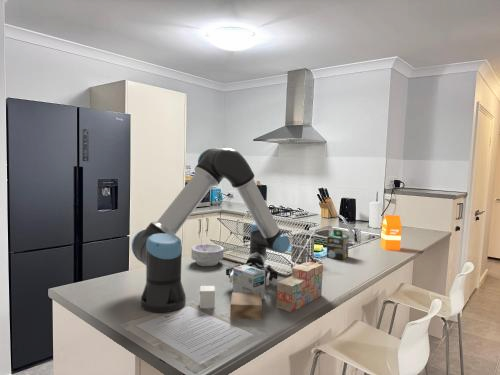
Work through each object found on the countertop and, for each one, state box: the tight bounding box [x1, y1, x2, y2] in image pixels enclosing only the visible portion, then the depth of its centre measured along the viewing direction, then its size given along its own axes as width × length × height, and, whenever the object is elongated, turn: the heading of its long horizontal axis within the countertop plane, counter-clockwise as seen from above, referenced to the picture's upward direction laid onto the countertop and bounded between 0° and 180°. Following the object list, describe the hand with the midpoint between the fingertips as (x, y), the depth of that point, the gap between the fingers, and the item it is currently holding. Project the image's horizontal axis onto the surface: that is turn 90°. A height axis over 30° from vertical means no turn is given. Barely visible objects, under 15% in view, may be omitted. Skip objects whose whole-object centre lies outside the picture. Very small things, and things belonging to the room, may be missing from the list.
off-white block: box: [199, 285, 216, 309], centre depth 124 cm, size 5×5×6 cm
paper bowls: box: [190, 243, 225, 267], centre depth 172 cm, size 15×15×8 cm
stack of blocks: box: [275, 261, 324, 313], centre depth 130 cm, size 21×6×12 cm, turn 141°
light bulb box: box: [232, 264, 266, 301], centre depth 132 cm, size 11×7×11 cm, turn 47°
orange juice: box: [380, 214, 402, 251], centre depth 214 cm, size 8×9×20 cm
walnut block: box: [229, 292, 263, 321], centre depth 119 cm, size 10×10×5 cm
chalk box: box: [326, 229, 350, 261], centre depth 191 cm, size 9×9×15 cm
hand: (248, 280), depth 132 cm, fingers open, 13 cm apart
